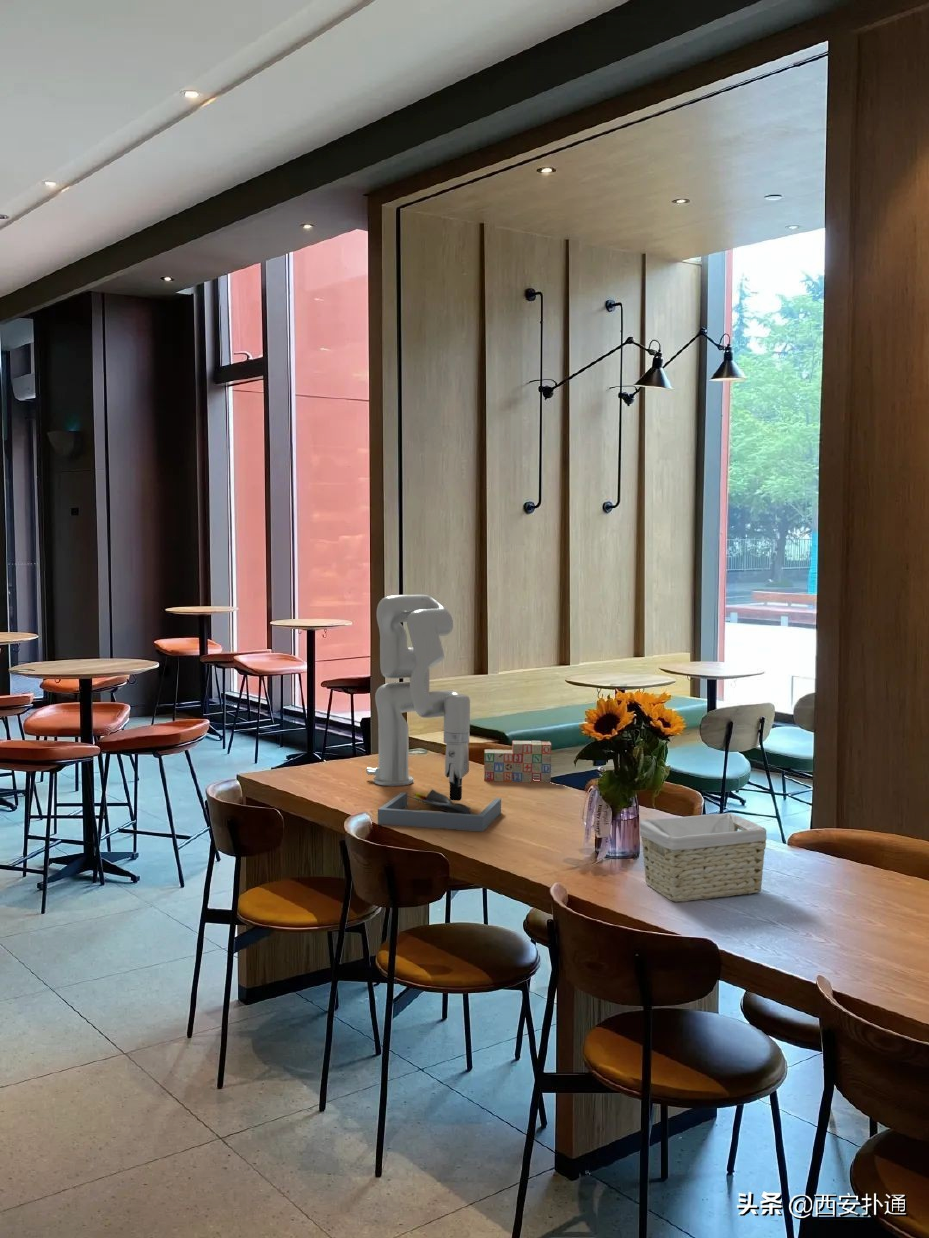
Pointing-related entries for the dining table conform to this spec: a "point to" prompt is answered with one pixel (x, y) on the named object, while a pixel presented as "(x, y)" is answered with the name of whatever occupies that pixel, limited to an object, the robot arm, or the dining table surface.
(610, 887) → the dining table surface
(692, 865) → the storage basket
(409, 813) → the u-shaped frame
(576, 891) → the dining table surface
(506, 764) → the stack of blocks
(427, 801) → the toy plane
